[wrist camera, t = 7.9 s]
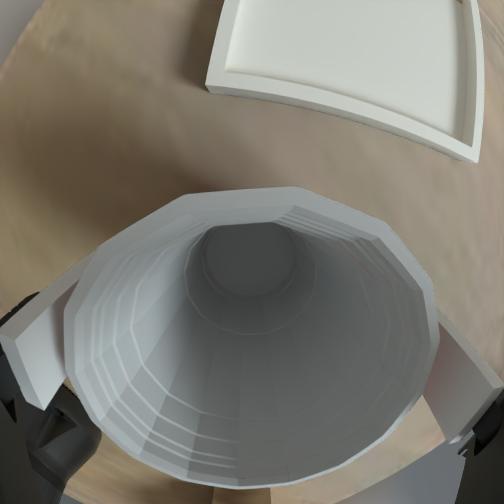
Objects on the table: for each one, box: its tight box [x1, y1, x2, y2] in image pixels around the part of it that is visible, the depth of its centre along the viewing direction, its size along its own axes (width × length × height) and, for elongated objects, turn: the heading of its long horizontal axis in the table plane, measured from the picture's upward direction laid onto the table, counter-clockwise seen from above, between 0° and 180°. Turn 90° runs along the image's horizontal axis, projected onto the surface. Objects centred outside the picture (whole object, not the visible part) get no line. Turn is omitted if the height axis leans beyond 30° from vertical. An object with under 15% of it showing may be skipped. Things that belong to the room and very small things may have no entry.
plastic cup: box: [64, 186, 440, 489], centre depth 12 cm, size 11×11×12 cm
